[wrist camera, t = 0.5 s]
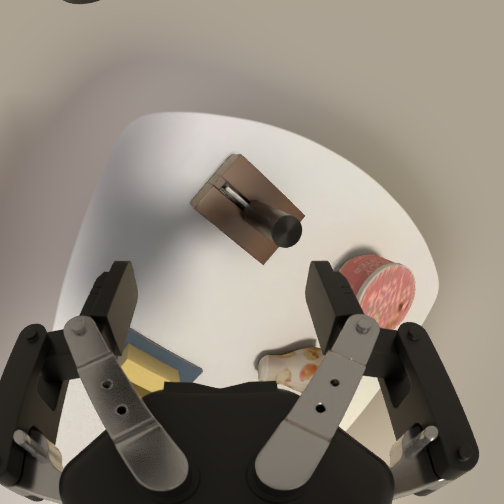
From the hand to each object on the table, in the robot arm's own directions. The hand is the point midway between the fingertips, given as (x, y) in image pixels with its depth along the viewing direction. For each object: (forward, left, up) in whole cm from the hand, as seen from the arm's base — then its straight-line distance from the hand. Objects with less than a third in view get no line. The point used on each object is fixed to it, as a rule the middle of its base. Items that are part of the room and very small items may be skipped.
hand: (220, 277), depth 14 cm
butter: (+9, -22, -22) cm, 32 cm away
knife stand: (+6, +4, -22) cm, 23 cm away
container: (+26, +7, -22) cm, 35 cm away
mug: (+26, -9, -22) cm, 35 cm away
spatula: (+6, +4, -22) cm, 23 cm away
